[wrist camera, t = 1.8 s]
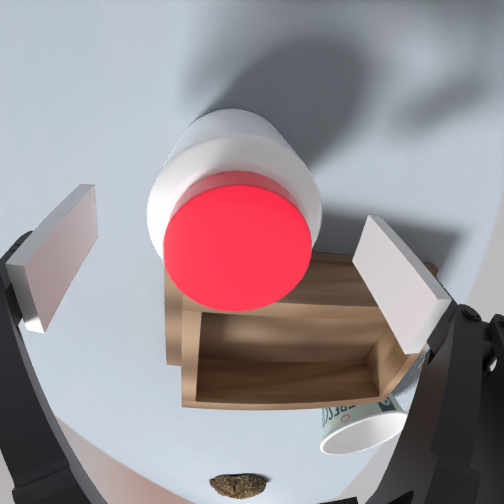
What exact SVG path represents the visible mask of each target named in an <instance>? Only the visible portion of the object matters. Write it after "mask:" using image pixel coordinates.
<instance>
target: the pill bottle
mask: <svg viewBox="0 0 504 504" xmlns="http://www.w3.org/2000/svg"><path fill="white" fill-rule="evenodd" d="M321 222H322V203H321V197H320V191H319V189H318V186H317V184H316V182H315V179H314V177H313V175H312V174H311V172H310V171H309V169H308V168H307V167H306V165H305V164H304V162H303V161H302V160H301V158H300V157H299V156H298V155H297V153H296V152H295V151H294V150H293V148H292V147H291V146H290V145H289V144H288V142H287V141H286V140H285V139H284V137H283V136H282V135H281V134H280V133H279V131H278V130H277V129H276V128H275V127H274V126H273V125H272V124H271V123H270V122H268V121H267V120H266V119H265V118H263V117H261V116H259V115H257V114H256V113H252V112H249V111H246V110H241V109H222V110H217V111H214V112H210V113H208V114H206V115H204V116H202V117H200V118H198V119H197V120H196V121H195V122H193V123H192V124H191V125H190V126H189V127H188V128H187V129H186V130H185V131H184V133H183V134H182V135H181V137H180V138H179V140H178V142H177V143H176V145H175V147H174V148H173V150H172V152H171V153H170V155H169V157H168V158H167V160H166V162H165V163H164V165H163V167H162V168H161V170H160V172H159V174H158V176H157V178H156V180H155V182H154V184H153V187H152V189H151V191H150V195H149V200H148V205H147V225H148V229H149V233H150V237H151V240H152V243H153V245H154V247H155V249H156V251H157V253H158V254H159V256H160V257H161V258H162V260H163V261H164V264H165V268H166V270H167V272H168V274H169V276H170V279H171V280H172V281H173V283H174V284H175V285H176V287H177V288H178V289H179V290H180V291H181V292H182V293H184V294H185V295H186V296H187V297H188V298H190V299H192V300H193V301H195V302H197V303H199V304H201V305H203V306H206V307H209V308H212V309H216V310H221V311H232V312H240V311H250V310H254V309H258V308H262V307H265V306H267V305H270V304H272V303H274V302H276V301H278V300H279V299H281V298H283V297H284V296H286V295H287V294H288V293H289V292H290V291H291V290H293V289H294V288H295V287H296V285H297V284H298V283H299V282H300V280H301V279H302V278H303V276H304V274H305V272H306V270H307V268H308V266H309V262H310V259H311V255H312V248H313V246H314V244H315V242H316V240H317V238H318V235H319V231H320V227H321Z"/></svg>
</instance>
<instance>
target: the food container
mask: <svg viewBox="0 0 504 504" xmlns="http://www.w3.org/2000/svg"><path fill="white" fill-rule="evenodd" d="M321 409H322V433H323V441H322V442H321V444H320V449H321V451H322V452H324V453H326V454H330V455H345V454H351V453H356V452H360V451H363V450H366V449H369V448H372V447H375V446H377V445H379V444H381V443H383V442H385V441H387V440H389V439H391V438H392V437H394V436H395V435H396V434H398V433H399V432H400V431H402V430H403V427H404V424H405V422H406V419H407V416H408V413H407V412H406V411H403V409H402V408H401V406H400V405H399V403H398V402H397V400H396V399H395V397H394V396H393V394H392V393H390V395H389V396H388V397H387V398H386V399H385V401H384V402H377V403H369V404H360V405H351V406H341V407H329V408H321Z"/></svg>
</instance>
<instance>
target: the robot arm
mask: <svg viewBox="0 0 504 504" xmlns="http://www.w3.org/2000/svg"><path fill="white" fill-rule="evenodd" d="M97 238H98V231H97V218H96V199H95V185H89V184H80V185H79V186H78V187H77V188H76V189H75V190H74V191H73V192H72V193H70V194H69V195H68V196H67V197H66V198H65V199H64V200H63V201H62V202H61V203H60V204H59V205H58V206H57V207H56V208H55V209H54V210H53V211H52V212H51V213H50V214H49V215H48V216H47V217H46V218H45V219H44V220H43V222H42V223H41V224H40V225H39V226H38V227H37V228H36V229H35V230H34V231H29V232H27V233H26V234H24V235H22V236H21V237H20V238H19V239H18V240H17V241H16V242H15V243H14V245H12V246H11V248H10V249H9V251H7V252H6V253H5V254H4V255H3V257H2V258H1V259H0V449H1V452H2V454H3V457H4V460H5V462H6V465H7V466H8V469H9V472H10V474H11V476H12V479H13V482H14V486H15V487H14V489H13V490H12V495H13V499H14V502H15V504H107V502H106V501H105V500H104V498H103V497H102V496H101V494H100V493H99V492H98V490H97V489H96V487H95V486H94V484H93V483H92V481H91V480H90V478H89V477H88V475H87V473H86V472H85V470H84V469H83V467H82V465H81V464H80V462H79V460H78V459H77V457H76V455H75V454H74V452H73V450H72V448H71V447H70V445H69V443H68V441H67V439H66V438H65V436H64V434H63V432H62V430H61V428H60V426H59V424H58V423H57V421H56V418H55V416H54V414H53V412H52V410H51V408H50V406H49V404H48V401H47V399H46V397H45V395H44V393H43V390H42V388H41V386H40V383H39V381H38V378H37V376H36V373H35V371H34V368H33V366H32V363H31V360H30V358H29V355H28V352H27V349H26V347H25V344H24V341H23V338H22V335H21V332H20V329H19V327H18V324H19V322H20V321H21V319H22V317H23V320H24V323H25V325H26V328H27V330H31V331H35V332H40V333H45V332H46V329H47V327H48V325H49V323H50V321H51V319H52V317H53V315H54V313H55V312H56V310H57V308H58V306H59V304H60V302H61V300H62V298H63V296H64V295H65V293H66V291H67V289H68V287H69V285H70V284H71V282H72V280H73V278H74V277H75V275H76V273H77V271H78V270H79V268H80V266H81V264H82V263H83V261H84V259H85V258H86V256H87V254H88V253H89V251H90V249H91V248H92V246H93V245H94V243H95V241H96V240H97ZM352 262H353V263H354V265H355V267H356V268H357V270H358V272H359V273H360V275H361V277H362V278H363V280H364V282H365V283H366V285H367V287H368V289H369V290H370V292H371V294H372V295H373V297H374V299H375V301H376V302H377V304H378V306H379V308H380V309H381V311H382V313H383V315H384V317H385V318H386V320H387V322H388V324H389V326H390V328H391V329H392V331H393V333H394V335H395V337H396V339H397V340H398V342H399V344H400V346H401V348H402V350H403V352H404V354H414V353H419V352H420V351H421V349H422V348H423V346H424V345H425V343H426V342H427V343H428V345H429V347H430V349H429V351H428V352H427V354H426V355H425V357H424V358H423V359H422V361H421V362H420V364H419V365H418V367H417V368H418V369H419V368H420V367H421V366H423V367H422V371H421V375H420V378H419V382H418V385H417V388H416V392H415V395H414V398H413V401H412V404H411V407H410V410H409V413H408V416H407V419H406V422H405V424H404V427H403V430H402V433H401V435H400V438H399V441H398V443H397V446H396V448H395V450H394V453H393V456H392V458H391V460H390V462H389V465H388V467H387V469H386V471H385V474H384V476H383V478H382V480H381V483H380V484H379V486H378V488H377V490H376V491H375V493H374V494H373V495H372V496H371V497H370V498H369V499H368V501H367V502H366V503H365V504H504V316H502V315H500V314H495V315H494V317H493V318H492V320H491V321H490V323H487V322H484V321H482V319H481V317H480V315H479V314H478V313H477V312H476V311H475V310H474V309H472V308H471V307H469V306H467V305H464V304H459V305H458V304H457V303H456V302H455V301H454V299H453V298H452V297H451V295H450V294H449V293H448V292H447V290H446V289H445V288H443V285H442V284H441V283H440V282H438V281H439V280H438V279H437V278H436V277H435V276H434V274H433V273H432V272H430V271H429V270H428V269H427V268H426V267H425V265H424V264H423V263H422V262H421V261H420V260H419V258H418V257H417V256H416V255H415V254H414V253H413V251H412V250H411V249H410V248H409V247H408V246H407V245H406V244H405V242H404V241H403V240H402V239H401V238H400V237H399V236H398V235H397V234H396V232H395V231H394V230H393V229H392V228H391V227H390V226H389V225H388V224H387V223H386V222H385V221H384V219H383V218H382V217H379V216H373V215H368V217H367V220H366V223H365V226H364V229H363V232H362V235H361V238H360V241H359V244H358V246H357V249H356V252H355V255H354V258H353V260H352ZM496 359H497V362H496V366H495V368H494V370H493V371H491V370H490V366H491V365H492V364H493V363H494V361H495V360H496ZM320 504H358V502H357V497H352V498H348V499H343V500H338V501H332V502H327V503H320Z"/></svg>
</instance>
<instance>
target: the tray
mask: <svg viewBox="0 0 504 504" xmlns="http://www.w3.org/2000/svg"><path fill="white" fill-rule="evenodd" d="M353 258H354V256H352V255H342V254H332V253H322V252H312V255H311V259H310V262H309V266H308V268H307V270H306V272H305V274H304V276H303V278H302V279H301V280H300V282H299V283H298V284H297V285H296V287H295V288H294V289H293V290H291V291H290V292H289V293H288V294H287V295H286V296H284V297H283V298H281V299H279V300H278V301H276V302H274V303H272V304H270V305H267V306H265V307H262V308H258V309H254V310H250V311H240V312H232V311H221V310H216V309H212V308H209V307H206V306H203V305H201V304H199V303H197V302H195V301H193V300H192V299H190V298H188V297H187V296H186V295H185V294H184V293H182V292H181V291H180V290H179V289H178V288H177V287H176V285H175V284H174V283H173V281H172V280H171V279H170V276H169V274H168V272H167V270H166V268H165V336H166V359H167V365H176V366H182V407H188V408H202V409H222V410H296V409H315V408H329V407H341V406H351V405H360V404H369V403H377V402H384V401H385V399H386V398H387V397H388V396H389V395H390V393H391V392H392V391H393V390H394V388H395V387H396V386H397V384H398V383H399V382H400V381H401V379H402V378H403V377H404V375H405V374H406V373H407V371H408V370H409V369H410V367H411V366H412V365H413V363H414V362H415V361H416V359H417V358H418V356H419V355H420V354H421V352H422V351H423V349H424V348H425V346H426V345H427V344H428V343H427V342H426V343H425V345H424V346H423V348H422V349H421V351H420V352H419V353H414V354H404V352H403V350H402V348H401V346H400V344H399V342H398V340H397V339H396V337H395V335H394V333H393V331H392V329H391V328H390V326H389V324H388V322H387V320H386V318H385V317H384V315H383V313H382V311H381V309H380V308H379V306H378V304H377V302H376V301H375V299H374V297H373V295H372V294H371V292H370V290H369V289H368V287H367V285H366V283H365V282H364V280H363V278H362V277H361V275H360V273H359V272H358V270H357V268H356V267H355V265H354V263H353V262H352V260H353ZM423 264H424V265H425V267H426V268H427V269H428V270H429V271H430V272H432V273H433V274H434V276H436V274H437V272H438V269H437V268H436V266H435V265H434V264H429V263H423Z"/></svg>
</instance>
